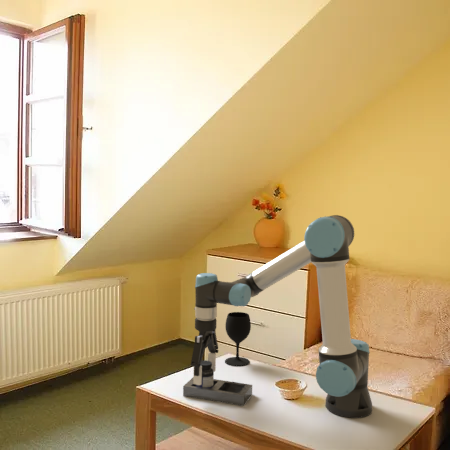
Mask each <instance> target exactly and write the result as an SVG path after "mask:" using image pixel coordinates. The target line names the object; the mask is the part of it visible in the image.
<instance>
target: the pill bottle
mask: <svg viewBox="0 0 450 450" xmlns="http://www.w3.org/2000/svg"><path fill="white" fill-rule="evenodd" d="M201 366H202V384H201V385H197V384H196V387H202V388H208V389H211V388H212V387H213V379H215V377H214V376H215V375H214V371H213V369H212V368H211V367H212V362H210V361H208V360H202V362H201Z"/></svg>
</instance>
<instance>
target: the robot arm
mask: <svg viewBox="0 0 450 450" xmlns="http://www.w3.org/2000/svg"><path fill="white" fill-rule="evenodd" d="M303 236H304V240H303V241H301V242H299V243H297V244H296V245H294V246H293V247H291V248H290V249H288V250H286V251H284V252H283V253H281V254H280V255H278V256H277V257H275V258H273V259H272V260H269V261H268V262H267V263H265V264H264V265H262V266H260V267H259V268H257V269H256V270H254V271H251V272H250V273H249V274H247V275H246V276H244V277H242V278H240V279H237V280H233V281H231V282H230V281H222V280H218V275H217V274H215V273H213V272H202V273H199V274H197V275H196V277H195V286H194V289H195V292H194V293H195V300H194V301H195V303H194V306H195V307H194V308H193V309H194V313H195V314H194V315H195V316H194V317H195V319H194V329H195V330H196V331H198V336H197V335H195V336H194V344H193V348H192V349H193V350H192V355H191V360H190V366H191V367H193V377H192V378H193V384H197V385H201V384H202V366H201V362H202V361H203V357H204V354H205V350H206V349H207V350H208V353H207V361H210V362H212V367H211V368H212V369H213V371H214V372H216V368H217V367H216V365H217V364H216V361H217V357H216V356H217V354H218V353H219V344H218V339H217V333H216V330H217V322H218V321H217V316H218V304H222V305H227V306H234V307H246V306H248V305H249V303H250V302H251V298H254V297H256V296H258V295H259V294H260V293H262V292H263V291H265V290H267V289H269V288H270V287H272V286H273V285H275V284H277V283H278V282H280V281H282V280H283V279H285V278H287V277H289V276H291V275H292V274H294V273H295V272H298V271H299V270H300V269H302V268H304V267H306V266H307V265H309V264H312V265H314V266H315V267H316V278H317V280H316V281H317V290H318V303H319V313H320V314H319V315H320V324H321V334H322V335H321V337H322V344H321V345H320V346H319V347H318V362H319V363H318V366H317V368H316V371H315V379H316V382H317V383H316V384H317V385H318V386H319V388H320V389H321V390H322V391H324V392H325V393H326V397H325V408H326V409H327V410H328V411H329V412H330V413H332V414H335V415H337V416H341V417H345V418H351V419H352V418H354V419H355V418H365V417H367V416H369V415H371V414H372V412H373V402H372V398H371V395H370V391H369V387H368V384H369V383H368V382H369V381H368V380H369V366H370V365H369V360H370V353H371V352H370V345H369V344H368V343H367V342H366V341H364V340H361V339H356V338H352V334H351V323H350V312H349V299H348V287H347V285H348V284H347V274H346V264H347V263H348V262H349V261H350V250H349V247H350V246H351V245H352V243H353V241H354V238H355V228H354V225H353V224H352V222H351V221H350V220H349V219H348V218H346V217H345V216H343V215H338V214H334V215H329V216H326V215H325V216H320V217H318V218H316V219H315V220H313V221H312V222H311V223H309V224H308V225H307V227H306V230H305V233H304V235H303Z"/></svg>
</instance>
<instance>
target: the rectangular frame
mask: <svg viewBox="0 0 450 450" xmlns="http://www.w3.org/2000/svg"><path fill="white" fill-rule="evenodd" d="M252 395H253V384H250V383H249V384H248V383H243V382H236V381H235V382H234V381H229V380H221V379H217V378H214V379H213V387H212V388H211V389H208V388H202V387H196V384H193V377H192V378H191V379H189V380H188V381H187V382H186V383H184V385H183V388H182V396H183V397H186V398H187V397H188V398H194V399H199V400H205V401H211V402H217V403H225V404H230V405H235V406H242V407H245V405H246V404H247V402H248V401H249V399H250V398H251V397H252Z"/></svg>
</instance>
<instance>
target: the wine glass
mask: <svg viewBox="0 0 450 450" xmlns="http://www.w3.org/2000/svg"><path fill="white" fill-rule="evenodd" d="M251 322H252V321H251V318H250V314H249V313H247V312H242V311H234V312H233V311H231V312H229V313H227V316H226V319H225V332H226V334H227V336H228V338H229V339H230V340H231V341H232V342H234V343H235V346H236V347H235V349H236V350H235V351H236V353H235V356H232V357H228V358H225V360H224V363H225V364H226V365H228V366H230V365H231V367H245V366H248V365H250V362H251V361H250V360H249V359H248V358H247V357H241V356H240V352H239V351H240V344H241V343H243V341H245V340H246V339H247V337H248V336H249V335H250V333H251V330H252V325H251V324H252V323H251Z"/></svg>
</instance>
